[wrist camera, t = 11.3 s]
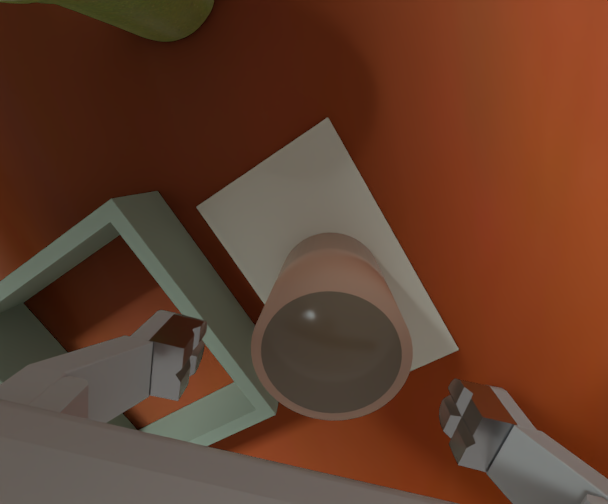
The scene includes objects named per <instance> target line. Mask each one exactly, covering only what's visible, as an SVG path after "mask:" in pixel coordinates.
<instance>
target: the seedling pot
mask: <svg viewBox="0 0 608 504" xmlns="http://www.w3.org/2000/svg"><path fill="white" fill-rule="evenodd" d="M251 357H252V363H253V366H254V369H255V372H256V374H257V376H258V378H259V380H260V382H261V383H262V385H263V386H264V388H265V389H266V390H267V391H268V392H269V393H270V395H272V396H273V397H274V398H275V399H276V400H277V401H278V402H280V403H281V404H282V405H284V406H285V407H287V408H289V409H291V410H292V411H294V412H297V413H299V414H301V415H304V416H308V417H311V418H316V419H321V420H347V419H353V418H357V417H361V416H364V415H367V414H370V413H372V412H374V411H376V410H378V409H379V408H381V407H382V406H384V405H385V404H387V403H388V402H389V401H390V400H391V399H393V398H394V397H395V395H396V394H397V393H398V392H399V391H400V389H401V388H402V387H403V385H404V384H405V382H406V380H407V377H408V375H409V372H410V369H411V366H412V359H413V346H412V340H411V336H410V333H409V330H408V328H407V325H406V323H405V321H404V319H403V317H402V315H401V313H400V310H399V308H398V306H397V304H396V302H395V300H394V298H393V295H392V293H391V291H390V289H389V287H388V285H387V283H386V280H385V278H384V276H383V274H382V272H381V270H380V268H379V265H378V263H377V261H376V259H375V257H374V256H373V254H372V253H371V251H370V250H369V249H368V248H367V247H366V246H365V245H364V244H362V243H361V242H360V241H358V240H357V239H355V238H353V237H350V236H348V235H345V234H340V233H330V232H329V233H321V234H316V235H313V236H310V237H308V238H306V239H304V240H303V241H301V242H300V243H298V244H297V245H296V246H295V247H294V248H293V249H292V250H291V251H290V253H289V254H288V256H287V257H286V260H285V262H284V264H283V266H282V268H281V271H280V273H279V275H278V277H277V279H276V281H275V284H274V286H273V288H272V290H271V292H270V295H269V297H268V299H267V301H266V303H265V306H264V308H263V310H262V312H261V314H260V316H259V319H258V321H257V323H256V325H255V327H254V331H253V334H252V340H251Z"/></svg>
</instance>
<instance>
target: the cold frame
mask: <svg viewBox="0 0 608 504" xmlns="http://www.w3.org/2000/svg"><path fill="white" fill-rule="evenodd" d="M119 235H121V236H122V238H123V239H124V240H125V241H126V243H127V244H128V245H129V247H130V248H131V249H132V250H133V252H134V253H135V254H136V256H137V257H138V258H139V259H140V261H141V262H142V263H143V265H144V266H145V267H146V268H147V270H148V271H149V272H150V274H151V275H152V276H153V277H154V279H155V280H156V281H157V283H158V284H159V285H160V286H161V288H162V289H163V290H164V292H165V293H166V294H167V295H168V297H169V298H170V299H171V301H172V302H173V303H174V305H175V306H176V307H177V308H178V310H179V311H180V312H181V314H182V315H185V316H189V317H193V318H197V319H201V320H205V321H206V322H207V331H206V334H205V335H204V337H203V338H202V341H203V342H204V343H205V344H206V346H207V347H208V348H209V350H210V351H211V352H212V353H213V355H214V356H215V357H216V359H217V360H218V361H219V362H220V364H221V365H222V366H223V368H224V369H225V370H226V371H227V373H228V374H229V375H230V377H231V378H232V379H233V380H234V382H233V383H231V384H229V385H227V386H225V387H223V388H221V389H219V390H217V391H215V392H213V393H211V394H209V395H207V396H205V397H203V398H201V399H199V400H197V401H195V402H193V403H191V404H189V405H187V406H185V407H183V408H181V409H179V410H177V411H175V412H173V413H171V414H169V415H167V416H165V417H163V418H162V419H160V420H158V421H156V422H154V423H152V424H150V425H148V426H146V427H144V428H142V429H140V430H138V431H142V432H147V433H151V434H156V435H160V436H164V437H169V438H173V439H177V440H182V441H186V442H191V443H195V444H199V445H204V446H208V445H210V444H213V443H215V442H217V441H219V440H221V439H224V438H226V437H228V436H230V435H232V434H235V433H237V432H239V431H241V430H243V429H246V428H248V427H250V426H252V425H254V424H257V423H259V422H261V421H263V420H265V419H268V418H270V417H272V416H274V415H276V412H277V408H278V403H279V402H278V401H277V400H276V399H275V398H274V397H273V396H272V395H270V393H269V392H268V391H267V390H266V389H265V388H264V386H263V385H262V383H261V382H260V380H259V378H258V376H257V374H256V372H255V369H254V366H253V363H252V357H251V340H252V334H253V331H254V327H255V325H254V323H253V322H252V321H251V319H250V318H249V317H248V315H247V314H246V312H245V311H244V310H243V308H242V307H241V305H240V304H239V303H238V301H237V300H236V299H235V297H234V296H233V294H232V293H231V292H230V290H229V289H228V288H227V286H226V285H225V283H224V282H223V281H222V279H221V278H220V276H219V275H218V274H217V272H216V271H215V270H214V268H213V267H212V265H211V264H210V263H209V261H208V260H207V258H206V257H205V256H204V254H203V253H202V252H201V250H200V249H199V247H198V246H197V245H196V243H195V242H194V241H193V239H192V238H191V236H190V235H189V234H188V232H187V231H186V229H185V228H184V227H183V225H182V224H181V223H180V221H179V220H178V218H177V217H176V216H175V214H174V213H173V211H172V210H171V209H170V207H169V206H168V205H167V203H166V202H165V200H164V199H163V198H162V196H161V195H160V193H159V192H158V191H153V192H147V193H141V194H136V195H130V196H124V197H118V198H112V199H110V200H109V201H107V202H106V203H105V204H103V205H102V206H101V207H99V208H98V209H97V210H95V211H94V212H93V213H91V214H90V215H89V216H87V217H86V218H85V219H83V220H82V221H80V222H79V223H78V224H76V225H75V226H74V227H72V228H71V229H70V230H68V231H67V232H66V233H64V234H63V235H62V236H60V237H59V238H58V239H56V240H55V241H54V242H52V243H51V244H50V245H48V246H47V247H46V248H44V249H43V250H42V251H40V252H39V253H38V254H36V255H35V256H34V257H32V258H31V259H30V260H28V261H27V262H26V263H24V264H23V265H22V266H20V267H19V268H18V269H16V270H15V271H14V272H12V273H11V274H9V275H8V276H7V277H5V278H4V279H3V280H1V281H0V384H2V383H3V382H4V381H6V380H7V379H9V378H10V377H12V376H13V375H14V374H16V373H17V372H19V371H20V370H22V369H23V368H24V367H26V366H27V365H29V364H32V363H36V362H39V361H42V360H46V359H49V358H52V357H55V356H59V355H62V354H65V353H68V352H67V351H66V350H65V349H64V348H63V347H62V346H61V345H60V343H59V342H58V341H57V340H56V339H55V338H54V337H53V336H52V335H51V333H50V332H49V331H48V330H47V329H46V328H45V327H44V326H43V325H42V323H41V322H40V321H39V320H38V319H37V318H36V317H35V316H34V315H33V313H32V312H31V311H30V310H29V309H28V308H27V307H26V306H25V305H24V302H25V301H27V300H28V299H29V298H31V297H32V296H34V295H35V294H37V293H38V292H39V291H41V290H42V289H44V288H45V287H46V286H48V285H49V284H51V283H52V282H54V281H55V280H56V279H58V278H59V277H61V276H62V275H64V274H65V273H66V272H68V271H69V270H71V269H72V268H73V267H75V266H76V265H78V264H79V263H81V262H82V261H83V260H85V259H86V258H88V257H89V256H91V255H92V254H93V253H95V252H96V251H98V250H99V249H100V248H102V247H103V246H105V245H106V244H108V243H109V242H110V241H112V240H113V239H115V238H116V237H118V236H119ZM107 424H112V425H116V426H121V427H125V428H129V429H134V430H137V429H136V428H135V427H134V426H133V425H132V423H131V422H130V421H129V420H128V419H127V418H126V417H125V416H124V415H123V413H121V414H120V415H118V416H117V417H115V418H113V419H112V420H110V421H108V422H107Z"/></svg>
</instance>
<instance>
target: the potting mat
mask: <svg viewBox="0 0 608 504" xmlns="http://www.w3.org/2000/svg"><path fill="white" fill-rule="evenodd" d="M196 208H197V209H198V211H199V212H200V213H201V215H202V216H203V218H204V219H205V221H206V222H207V223H208V225H209V226H210V228H211V229H212V230H213V232H214V233H215V235H216V236H217V238H218V239H219V240H220V242H221V243H222V245H223V246H224V248H225V249H226V250H227V252H228V253H229V255H230V256H231V258H232V259H233V260H234V262H235V263H236V265H237V266H238V267H239V269H240V270H241V272H242V273H243V275H244V276H245V277H246V279H247V280H248V282H249V283H250V285H251V286H252V287H253V289H254V290H255V292H256V293H257V295H258V296H259V297H260V299H261V300H262V302H263V303H264V304H265V303H266V301H267V299H268V297H269V295H270V292H271V290H272V288H273V286H274V284H275V281H276V279H277V277H278V275H279V273H280V271H281V268H282V266H283V264H284V262H285V260H286V257H287V256H288V254H289V253H290V251H291V250H292V249H293V248H294V247H295V246H296V245H297V244H298V243H300V242H301V241H303V240H304V239H306V238H308V237H310V236H313V235H316V234H321V233H329V232H330V233H340V234H345V235H348V236H350V237H353V238H355V239H357V240H358V241H360V242H361V243H362V244H364V245H365V246H366V247H367V248H368V249H369V250H370V251H371V253H372V254H373V256H374V257H375V259H376V261H377V263H378V265H379V268H380V270H381V272H382V274H383V276H384V278H385V280H386V283H387V285H388V287H389V289H390V291H391V293H392V295H393V298H394V300H395V302H396V304H397V306H398V308H399V310H400V313H401V315H402V317H403V319H404V321H405V323H406V325H407V328H408V330H409V333H410V336H411V340H412V346H413V359H412V366H411V369H410V371H412V370H414V369H417V368H419V367H421V366H424V365H426V364H428V363H430V362H433V361H435V360H437V359H439V358H442V357H444V356H446V355H448V354H451V353H453V352H455V351H458V350H459V349H458V347H457V345H456V343H455V342H454V340H453V338H452V336H451V334H450V333H449V331H448V329H447V327H446V326H445V324H444V322H443V320H442V318H441V317H440V315H439V313H438V311H437V310H436V308H435V306H434V304H433V302H432V301H431V299H430V297H429V295H428V294H427V292H426V290H425V288H424V287H423V285H422V283H421V281H420V279H419V278H418V276H417V274H416V272H415V271H414V269H413V267H412V265H411V263H410V262H409V260H408V258H407V256H406V255H405V253H404V251H403V249H402V247H401V246H400V244H399V242H398V240H397V239H396V237H395V235H394V233H393V232H392V230H391V228H390V226H389V224H388V223H387V221H386V219H385V217H384V216H383V214H382V212H381V210H380V208H379V207H378V205H377V203H376V201H375V200H374V198H373V196H372V194H371V192H370V191H369V189H368V187H367V185H366V184H365V182H364V180H363V178H362V176H361V175H360V173H359V171H358V169H357V168H356V166H355V164H354V162H353V161H352V159H351V157H350V155H349V153H348V152H347V150H346V148H345V146H344V145H343V143H342V141H341V139H340V137H339V136H338V134H337V132H336V130H335V129H334V127H333V125H332V123H331V121H330V120H329V118H328V117H327V118H326V119H324V120H323V121H321V122H320V123H319V124H317V125H316V126H314V127H313V128H311V129H310V130H308V131H307V132H305V133H304V134H302V135H301V136H299V137H298V138H297V139H295V140H294V141H292V142H291V143H289V144H288V145H286V146H285V147H283V148H282V149H280V150H279V151H277V152H276V153H274V154H273V155H272V156H270V157H269V158H267V159H266V160H264V161H263V162H261V163H260V164H258V165H257V166H255V167H254V168H252V169H251V170H249V171H248V172H247V173H245V174H244V175H242V176H241V177H239V178H238V179H236V180H235V181H233V182H232V183H230V184H229V185H227V186H226V187H224V188H223V189H222V190H220V191H219V192H217V193H216V194H214V195H213V196H211V197H210V198H208V199H207V200H205V201H204V202H202V203H201V204H199V205H198V206H197V207H196Z"/></svg>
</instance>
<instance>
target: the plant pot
mask: <svg viewBox="0 0 608 504" xmlns="http://www.w3.org/2000/svg"><path fill="white" fill-rule="evenodd" d="M0 2H3V3H17V4H29V3H35V2H38V3H45V4H57V5H59V6H62V7H65V8H68V9H70V10H73V11H76V12H79V13H81V14H84V15H87V16H89V17H92V18H95V19H97V20H100V21H103V22H105V23H108V24H111V25H113V26H116V27H118V28H121V29H123V30H126V31H128V32H131V33H133V34H136V35H138V36H141V37H143V38H147V39H150V40H155V41H162V42H170V41H176V40H179V39H182V38H185V37H187V36H188V35H190V34H192V33H193V32H194V31H196V30H197V29H198V28H199V27H200V26H201V25H202V24H203V22H204V21H205V20H206V18H207V17H208V15H209V14H210V12H211V10H212V8H213V4H214V0H0Z"/></svg>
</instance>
